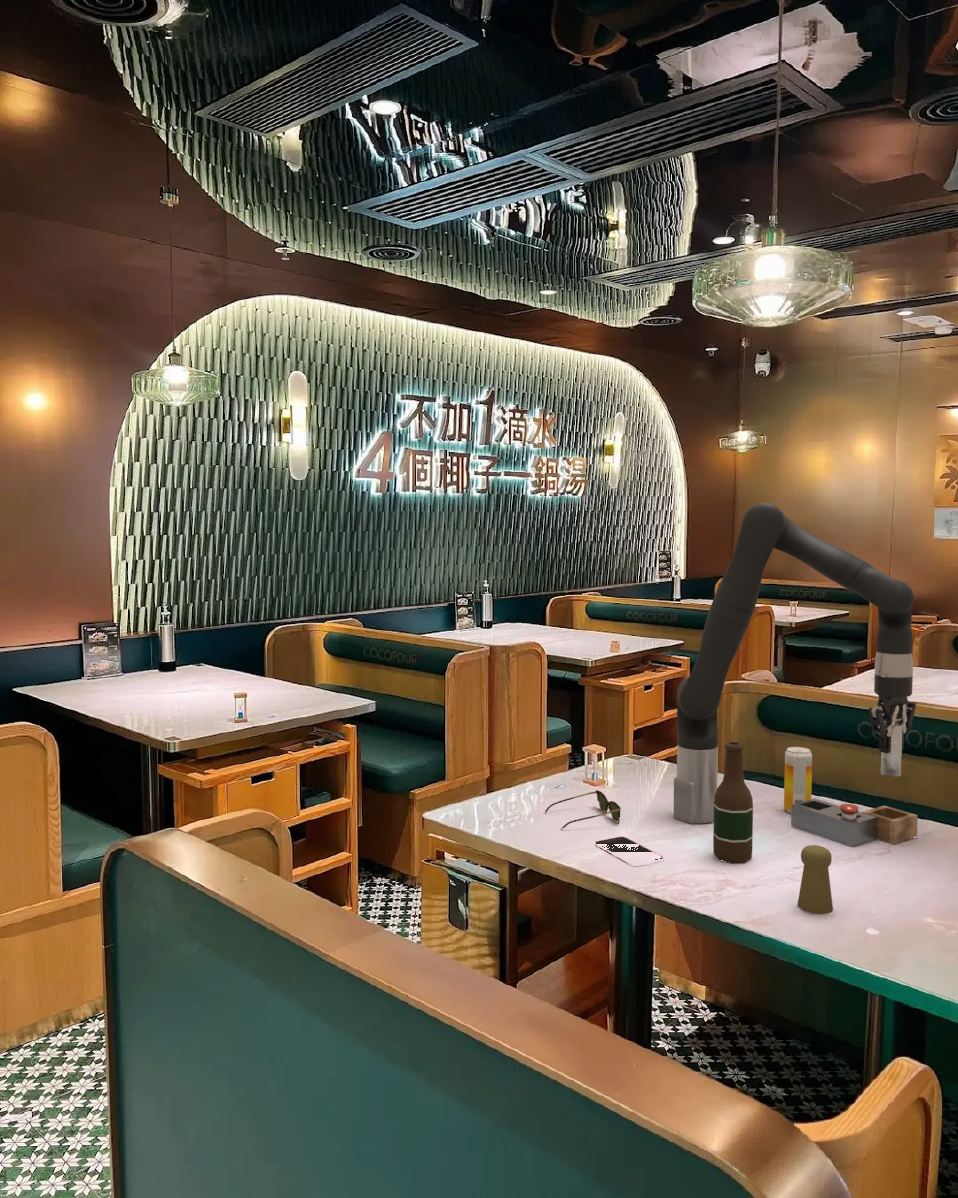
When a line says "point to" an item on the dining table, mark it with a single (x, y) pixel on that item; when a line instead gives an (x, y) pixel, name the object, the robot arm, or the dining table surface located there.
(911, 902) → the dining table surface
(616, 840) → the cell phone
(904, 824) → the wooden hollow square frame
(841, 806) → the copper-capped cylinder
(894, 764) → the gray round-topped cylinder
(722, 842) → the beer bottle
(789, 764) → the beer can
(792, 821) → the socket block
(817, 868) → the olive knobbed peg
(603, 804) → the sunglasses
